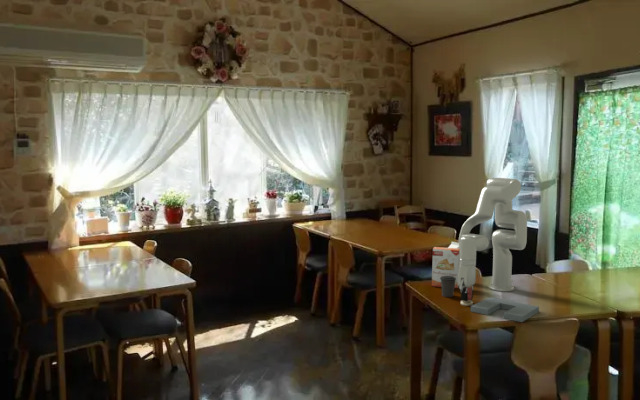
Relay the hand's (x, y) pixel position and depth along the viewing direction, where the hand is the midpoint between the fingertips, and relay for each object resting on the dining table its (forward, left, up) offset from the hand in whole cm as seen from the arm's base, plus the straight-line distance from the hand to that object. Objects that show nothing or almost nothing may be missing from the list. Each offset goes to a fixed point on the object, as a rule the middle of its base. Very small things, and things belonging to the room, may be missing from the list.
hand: (466, 299), depth 274 cm
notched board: (0, +19, -2) cm, 19 cm away
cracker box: (-23, -24, -3) cm, 33 cm away
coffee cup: (-7, -14, -3) cm, 16 cm away
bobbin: (0, 0, -2) cm, 2 cm away
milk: (-37, -26, -3) cm, 45 cm away
